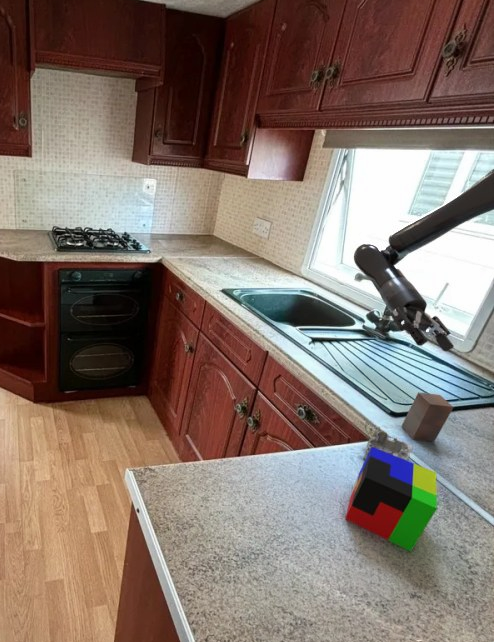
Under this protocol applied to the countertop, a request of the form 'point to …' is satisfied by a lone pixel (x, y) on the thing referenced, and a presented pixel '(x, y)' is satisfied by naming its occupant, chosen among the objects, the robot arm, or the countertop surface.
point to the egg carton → (388, 445)
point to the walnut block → (427, 416)
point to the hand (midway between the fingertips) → (436, 346)
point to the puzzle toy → (393, 498)
